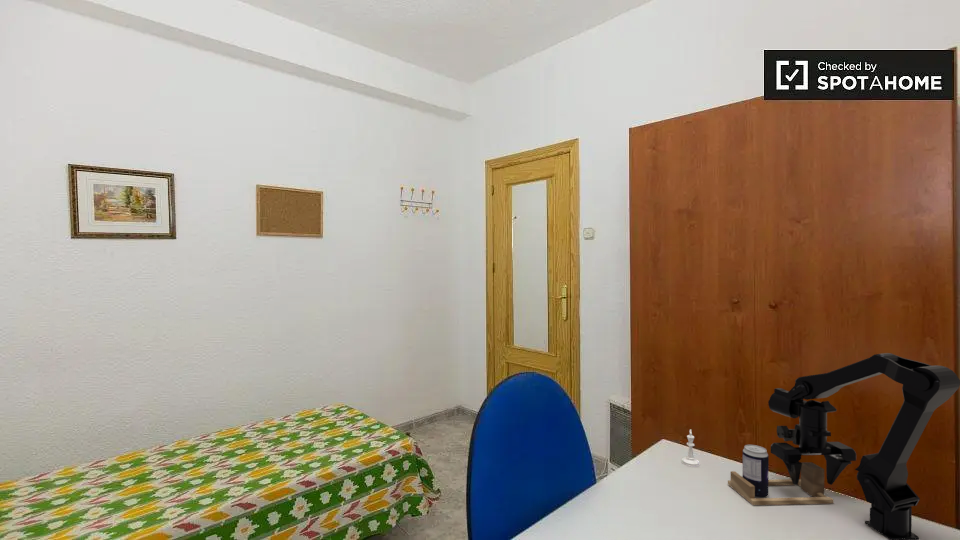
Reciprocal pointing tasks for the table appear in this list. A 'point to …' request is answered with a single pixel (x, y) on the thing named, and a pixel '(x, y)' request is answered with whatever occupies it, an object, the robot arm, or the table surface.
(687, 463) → the chess piece
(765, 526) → the table surface
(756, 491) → the beverage can
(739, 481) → the wooden frame
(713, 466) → the table surface
